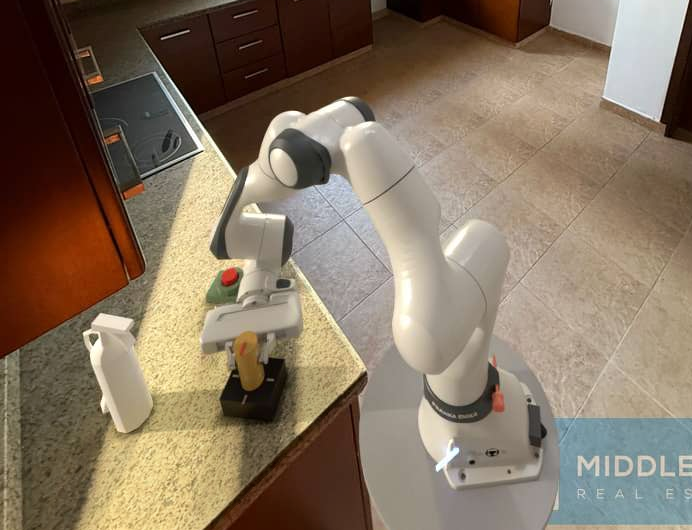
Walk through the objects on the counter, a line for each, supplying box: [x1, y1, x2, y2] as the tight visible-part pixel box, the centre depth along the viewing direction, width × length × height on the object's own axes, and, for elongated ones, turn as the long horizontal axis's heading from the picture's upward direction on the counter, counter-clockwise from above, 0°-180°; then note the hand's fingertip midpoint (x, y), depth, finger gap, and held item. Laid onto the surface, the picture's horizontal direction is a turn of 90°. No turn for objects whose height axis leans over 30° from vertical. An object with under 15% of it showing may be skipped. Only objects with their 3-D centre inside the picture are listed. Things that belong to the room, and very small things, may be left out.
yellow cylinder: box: [233, 331, 265, 391], centre depth 83 cm, size 4×4×10 cm
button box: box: [205, 266, 244, 304], centre depth 108 cm, size 10×7×4 cm
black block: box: [218, 356, 289, 423], centre depth 86 cm, size 10×9×5 cm
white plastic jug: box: [82, 312, 154, 434], centre depth 81 cm, size 7×12×25 cm, turn 80°
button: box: [222, 267, 238, 286], centre depth 107 cm, size 4×4×2 cm
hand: (247, 365), depth 82 cm, fingers closed on yellow cylinder, 4 cm apart
